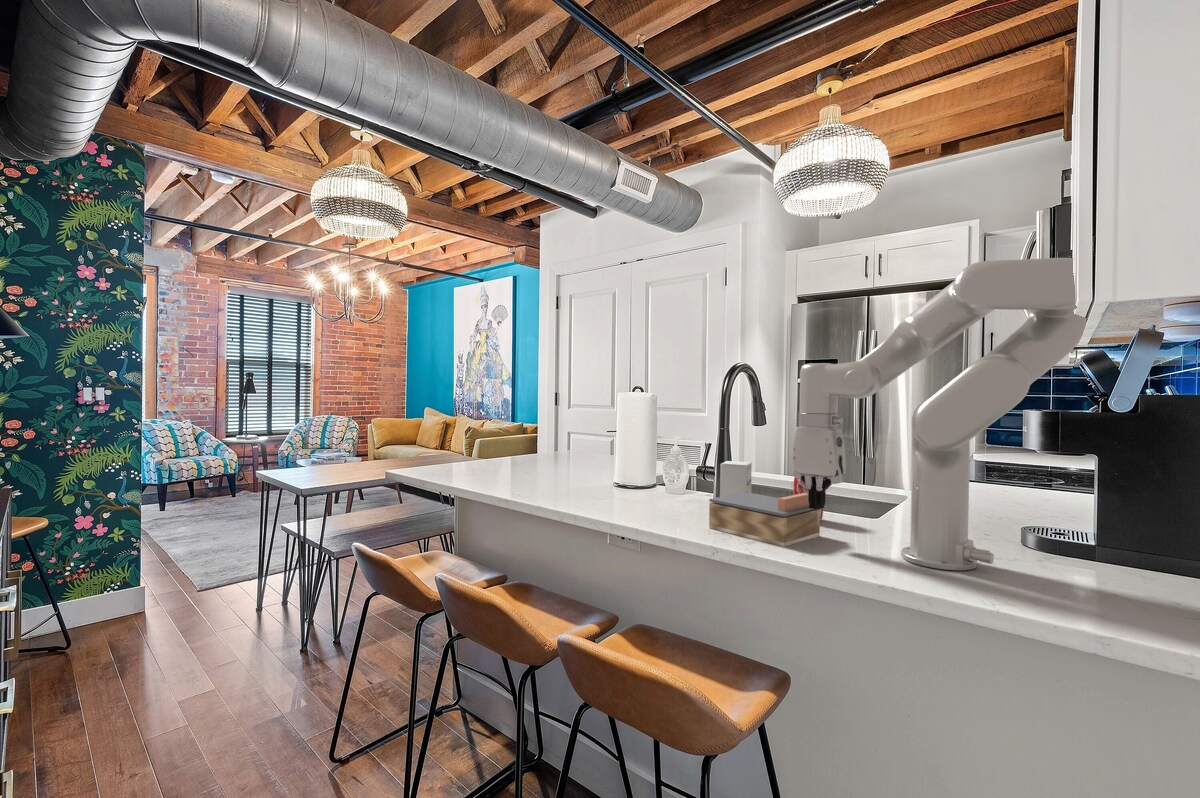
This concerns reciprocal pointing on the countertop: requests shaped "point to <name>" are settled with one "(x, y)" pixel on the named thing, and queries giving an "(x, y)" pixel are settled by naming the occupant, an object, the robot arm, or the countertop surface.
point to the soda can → (803, 490)
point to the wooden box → (765, 524)
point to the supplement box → (735, 478)
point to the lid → (767, 503)
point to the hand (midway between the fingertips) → (816, 508)
